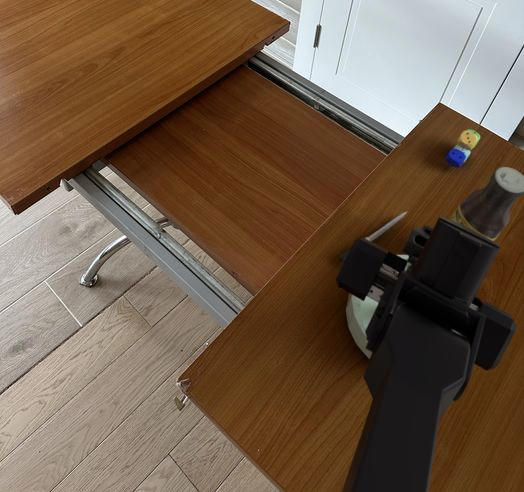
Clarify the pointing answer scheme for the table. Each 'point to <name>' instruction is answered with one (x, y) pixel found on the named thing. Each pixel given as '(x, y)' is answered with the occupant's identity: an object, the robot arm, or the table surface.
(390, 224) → the knife
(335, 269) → the table surface
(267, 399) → the table surface
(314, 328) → the table surface
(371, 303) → the bowl
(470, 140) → the dice
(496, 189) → the sauce bottle
